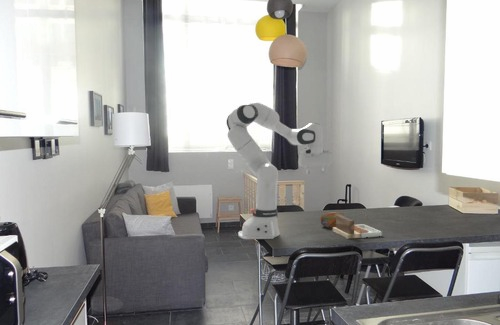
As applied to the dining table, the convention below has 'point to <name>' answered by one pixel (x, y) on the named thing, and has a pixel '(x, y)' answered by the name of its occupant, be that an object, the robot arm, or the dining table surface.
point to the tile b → (361, 230)
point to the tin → (329, 219)
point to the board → (346, 235)
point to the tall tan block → (345, 224)
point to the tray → (371, 230)
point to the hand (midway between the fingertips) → (315, 173)
